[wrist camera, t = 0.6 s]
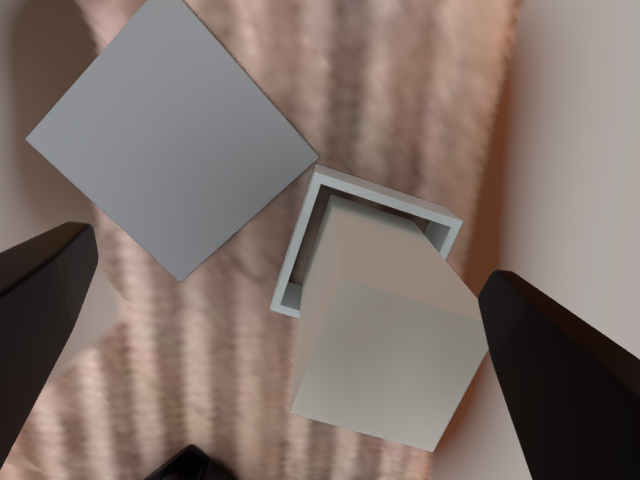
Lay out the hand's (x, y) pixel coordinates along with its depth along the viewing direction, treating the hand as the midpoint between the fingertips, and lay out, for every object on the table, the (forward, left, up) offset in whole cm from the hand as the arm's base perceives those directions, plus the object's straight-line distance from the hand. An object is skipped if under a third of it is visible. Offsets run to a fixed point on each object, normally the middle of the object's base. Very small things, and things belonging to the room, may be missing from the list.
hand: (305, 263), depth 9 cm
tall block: (-1, -6, -16) cm, 17 cm away
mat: (-5, +6, -16) cm, 18 cm away
